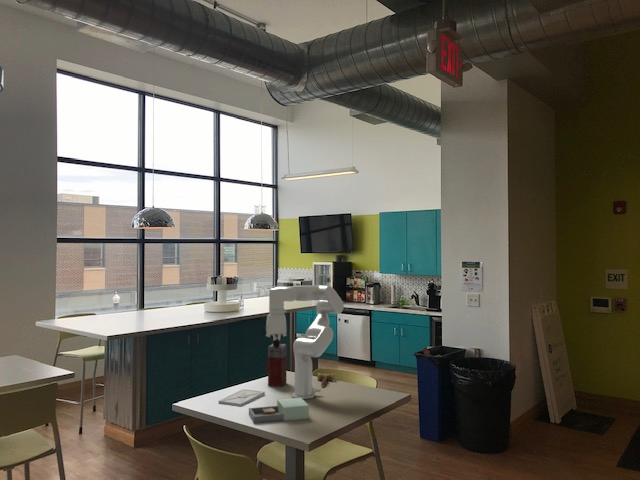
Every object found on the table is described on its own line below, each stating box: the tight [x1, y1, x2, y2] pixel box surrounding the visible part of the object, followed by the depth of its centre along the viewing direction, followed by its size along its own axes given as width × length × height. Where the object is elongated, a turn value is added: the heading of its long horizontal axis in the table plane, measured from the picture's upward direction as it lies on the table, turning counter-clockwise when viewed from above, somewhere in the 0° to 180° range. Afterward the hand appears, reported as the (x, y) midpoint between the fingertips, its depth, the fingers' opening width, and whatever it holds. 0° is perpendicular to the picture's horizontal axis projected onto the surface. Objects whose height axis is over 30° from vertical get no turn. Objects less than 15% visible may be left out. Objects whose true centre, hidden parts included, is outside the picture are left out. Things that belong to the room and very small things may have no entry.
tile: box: [262, 408, 275, 415], centre depth 244 cm, size 5×5×3 cm
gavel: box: [317, 372, 335, 388], centre depth 311 cm, size 21×5×10 cm
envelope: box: [218, 388, 266, 407], centre depth 277 cm, size 24×2×14 cm
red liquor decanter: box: [265, 336, 288, 388], centre depth 309 cm, size 9×11×28 cm
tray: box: [248, 405, 285, 424], centre depth 245 cm, size 14×14×3 cm
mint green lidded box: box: [276, 397, 310, 422], centre depth 249 cm, size 12×14×6 cm
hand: (276, 347), depth 267 cm, fingers closed
